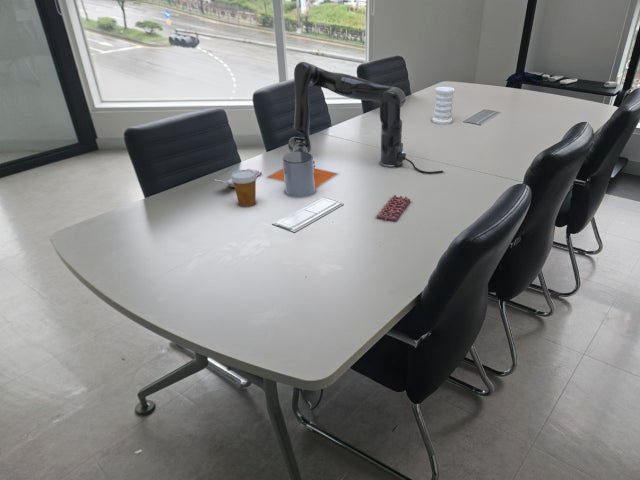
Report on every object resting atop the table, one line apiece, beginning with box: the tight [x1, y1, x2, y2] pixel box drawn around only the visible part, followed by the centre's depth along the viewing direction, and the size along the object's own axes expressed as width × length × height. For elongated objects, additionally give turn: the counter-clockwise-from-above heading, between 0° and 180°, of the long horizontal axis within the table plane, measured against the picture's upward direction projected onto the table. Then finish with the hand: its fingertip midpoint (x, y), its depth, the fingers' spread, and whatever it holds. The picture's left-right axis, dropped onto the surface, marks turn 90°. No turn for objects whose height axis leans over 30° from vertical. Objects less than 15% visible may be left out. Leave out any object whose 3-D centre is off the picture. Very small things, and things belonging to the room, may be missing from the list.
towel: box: [268, 168, 338, 188], centre depth 221 cm, size 24×18×1 cm
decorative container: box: [431, 86, 455, 125], centre depth 289 cm, size 12×12×18 cm
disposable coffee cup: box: [230, 169, 258, 207], centre depth 194 cm, size 10×10×12 cm
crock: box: [281, 152, 316, 198], centre depth 203 cm, size 12×12×15 cm
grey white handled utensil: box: [214, 168, 263, 188], centre depth 212 cm, size 6×6×25 cm
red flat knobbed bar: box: [376, 194, 411, 222], centre depth 193 cm, size 7×19×2 cm, turn 160°
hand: (300, 172), depth 209 cm, fingers closed
